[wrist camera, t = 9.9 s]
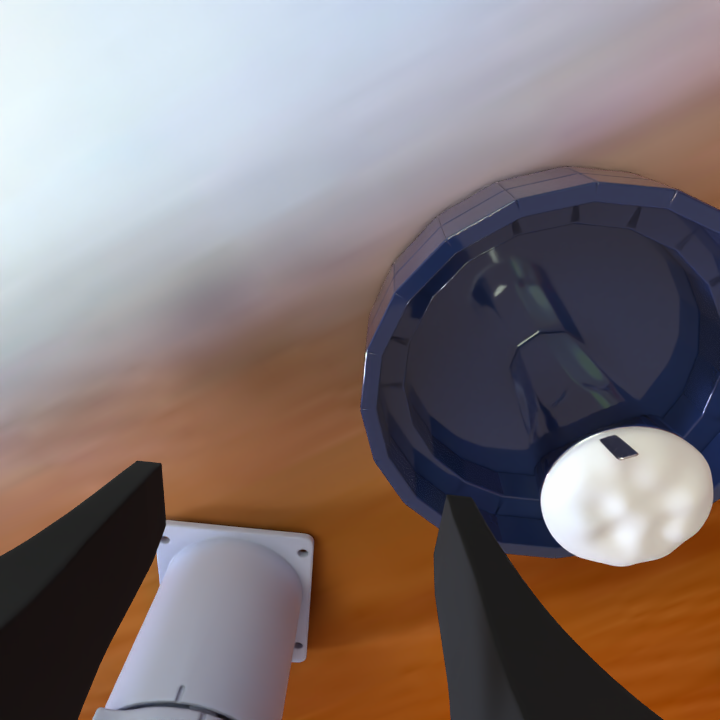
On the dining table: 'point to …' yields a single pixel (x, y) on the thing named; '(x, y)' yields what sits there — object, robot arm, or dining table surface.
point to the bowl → (538, 332)
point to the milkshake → (605, 458)
